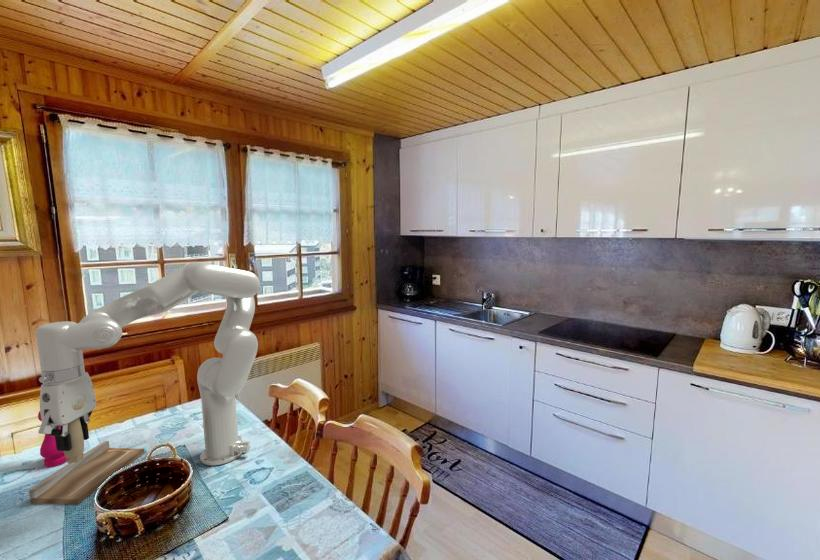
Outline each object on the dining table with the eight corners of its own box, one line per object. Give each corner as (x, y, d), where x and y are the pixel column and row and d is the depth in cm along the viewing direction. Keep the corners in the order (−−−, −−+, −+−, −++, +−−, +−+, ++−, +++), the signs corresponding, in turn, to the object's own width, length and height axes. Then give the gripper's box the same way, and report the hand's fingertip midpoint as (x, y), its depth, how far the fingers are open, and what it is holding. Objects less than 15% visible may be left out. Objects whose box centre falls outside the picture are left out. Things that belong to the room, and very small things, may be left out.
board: (144, 452, 119) (143, 441, 119) (78, 504, 96) (76, 490, 96) (105, 452, 120) (104, 440, 119) (30, 503, 97) (28, 489, 96)
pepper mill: (36, 465, 113) (28, 403, 111) (65, 452, 120) (58, 394, 117) (49, 470, 111) (41, 407, 108) (78, 457, 117) (71, 397, 115)
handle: (75, 467, 88) (67, 408, 86) (54, 464, 89) (45, 406, 87) (96, 455, 93) (89, 399, 91) (75, 453, 94) (67, 397, 92)
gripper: (43, 387, 80) (55, 466, 82) (108, 361, 96) (116, 427, 99) (10, 387, 80) (22, 465, 82) (80, 361, 97) (88, 427, 99)
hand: (73, 443), depth 91 cm, fingers closed on handle, 3 cm apart
